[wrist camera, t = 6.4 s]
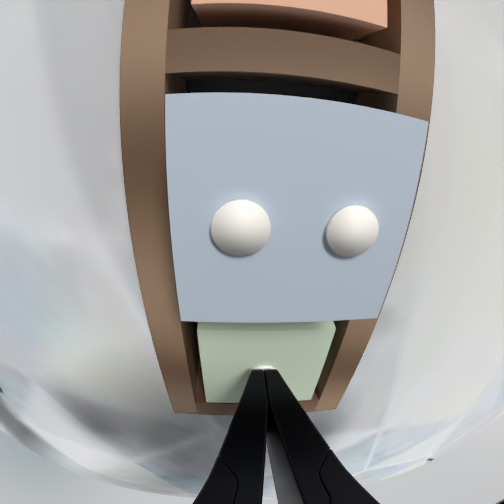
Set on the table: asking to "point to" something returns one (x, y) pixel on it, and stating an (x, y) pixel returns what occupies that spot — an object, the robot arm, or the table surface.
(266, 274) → the key two blue
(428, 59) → the key strip
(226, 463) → the robot arm
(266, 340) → the key one sage
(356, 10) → the key three terracotta
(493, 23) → the table surface
